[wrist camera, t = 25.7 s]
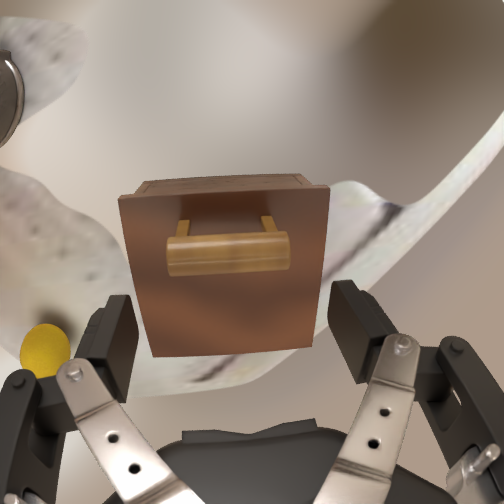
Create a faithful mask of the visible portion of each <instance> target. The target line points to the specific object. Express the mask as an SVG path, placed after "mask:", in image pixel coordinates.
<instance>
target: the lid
mask: <svg viewBox="0 0 504 504" xmlns="http://www.w3.org/2000/svg"><path fill="white" fill-rule="evenodd" d="M329 200H330V188H329V187H328V186H327V185H288V186H252V187H228V188H209V189H192V190H178V191H164V192H152V193H140V194H129V195H121V196H120V197H119V198H118V204H119V210H120V216H121V222H122V228H123V234H124V239H125V244H126V249H127V254H128V259H129V264H130V269H131V273H132V278H133V282H134V287H135V291H136V295H137V299H138V303H139V307H140V311H141V315H142V319H143V323H144V327H145V330H146V334H147V338H148V341H149V345H150V348H151V352H152V355H153V357H189V356H212V355H229V354H244V353H256V352H268V351H278V350H288V349H297V348H306V347H312V342H313V335H314V329H315V322H316V315H317V308H318V301H319V293H320V285H321V277H322V269H323V261H324V252H325V242H326V233H327V223H328V212H329Z"/></svg>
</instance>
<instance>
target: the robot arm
mask: <svg viewBox="0 0 504 504" xmlns="http://www.w3.org/2000/svg"><path fill="white" fill-rule="evenodd" d="M10 56H11V52H10V51H7V50H0V148H1V147H2V146H3V145H4V144H5V143H6V142H7V141H8V140H9V139H10V137H11V136H12V135H13V133H14V131H15V129H16V127H17V125H18V122H19V120H20V117H21V113H22V108H23V101H24V88H23V82H22V78H21V75H20V72H19V70H18V69H17V67H16V66H15V64H14V63H13V62H12V61H11V58H10ZM327 317H328V324H329V327H330V329H331V331H332V333H333V335H334V338H335V340H336V342H337V344H338V346H339V348H340V350H341V352H342V355H343V357H344V359H345V361H346V363H347V365H348V367H349V370H350V372H351V374H352V376H353V378H354V380H355V382H356V384H360V383H365V382H367V384H368V387H367V390H366V392H365V395H364V397H363V400H362V402H361V405H360V407H359V410H358V412H357V414H356V417H355V419H354V421H353V424H352V426H351V428H350V431H349V433H348V434H345V433H344V432H341V431H338V430H335V429H330V428H324V427H317V424H316V421H315V418H313V419H307V420H301V421H295V422H288V423H282V424H279V425H277V426H274V427H271V428H268V429H265V430H262V431H259V432H256V433H253V434H243V433H235V432H227V431H220V430H197V431H182V440H180V441H176V442H173V443H170V444H168V445H166V446H164V447H162V448H160V449H159V450H157V451H155V450H154V449H153V448H152V446H151V445H150V444H149V443H148V441H147V440H146V439H145V438H144V436H143V435H142V434H141V432H140V431H139V430H138V429H137V427H136V426H135V425H134V423H133V422H132V420H131V419H130V418H129V416H128V415H127V414H126V412H125V411H124V410H123V408H122V407H121V405H120V404H119V403H126V399H127V394H128V388H129V383H130V378H131V373H132V368H133V363H134V358H135V354H136V349H137V345H138V339H139V331H138V325H137V321H136V317H135V313H134V309H133V305H132V301H131V298H130V296H129V295H111V296H110V297H109V299H108V302H107V304H106V306H105V308H99V309H98V310H97V311H96V312H95V313H94V314H93V315H92V316H91V318H90V320H89V322H88V325H87V327H86V329H85V332H84V334H83V336H82V339H81V341H80V344H79V346H78V349H77V351H76V354H75V356H74V359H71V360H68V361H66V362H65V363H63V364H62V365H61V366H60V367H59V368H58V370H57V373H56V375H53V376H48V377H43V378H38V379H37V378H36V376H35V374H34V373H33V372H32V371H31V370H28V369H19V370H16V371H14V372H13V373H11V374H10V375H9V376H8V377H7V379H6V380H5V382H4V385H3V388H2V390H1V392H0V504H55V501H56V492H57V485H58V478H59V470H60V465H61V458H62V452H63V447H64V441H65V436H66V432H70V431H75V430H79V431H80V433H81V435H82V437H83V438H84V440H85V442H86V444H87V445H88V447H89V449H90V451H91V453H92V454H93V456H94V458H95V459H96V461H97V462H98V464H99V466H100V467H101V469H102V471H103V472H104V474H105V475H106V477H107V478H108V480H109V481H110V483H111V484H112V486H113V487H114V489H115V490H116V491H115V492H114V493H113V494H112V495H111V496H110V497H109V498H108V499H107V500H106V501H105V502H104V503H103V504H504V393H503V391H502V389H501V388H500V387H499V385H498V383H497V382H496V380H495V379H494V378H493V376H492V375H491V373H490V372H489V370H488V369H487V368H486V366H485V365H484V363H483V362H482V360H481V359H480V358H479V356H478V355H477V354H476V352H475V351H474V349H473V348H472V347H471V345H470V344H469V343H468V342H467V341H465V340H464V339H462V338H460V337H456V336H447V337H445V338H443V339H442V341H441V342H440V345H439V347H424V346H420V345H419V343H418V342H417V341H416V340H415V339H414V338H413V337H411V336H409V335H406V334H402V333H399V332H398V331H397V329H396V328H395V326H394V325H393V324H392V322H391V320H390V319H389V318H388V316H387V315H386V313H384V311H383V309H382V308H381V307H380V306H379V304H378V302H377V301H376V300H375V298H374V297H373V296H371V295H370V294H369V293H367V292H366V291H364V290H361V291H359V289H358V288H357V286H356V285H355V283H354V282H353V281H352V280H340V281H333V282H332V285H331V292H330V299H329V306H328V314H327ZM453 390H455V392H456V393H457V395H458V397H459V399H460V401H461V405H460V403H459V402H458V400H457V398H456V397H455V395H454V393H453ZM413 401H418V402H419V404H420V406H421V408H422V410H423V412H424V414H425V416H426V418H427V420H428V422H429V424H430V427H431V429H432V431H433V433H434V435H435V437H436V440H437V442H438V444H439V446H440V448H441V451H442V453H443V455H444V457H445V460H446V462H447V464H448V467H449V469H450V470H449V471H448V473H447V476H446V484H447V487H446V491H445V490H444V489H442V488H440V487H438V486H436V485H434V484H432V483H430V482H428V481H427V480H424V479H423V478H421V477H419V476H417V475H416V474H414V473H412V472H410V471H408V470H407V469H405V468H403V467H401V466H400V465H398V464H396V461H397V459H398V456H399V452H400V449H401V446H402V443H403V439H404V436H405V432H406V429H407V425H408V421H409V417H410V413H411V409H412V405H413Z"/></svg>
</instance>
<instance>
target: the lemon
mask: <svg viewBox="0 0 504 504" xmlns="http://www.w3.org/2000/svg"><path fill="white" fill-rule="evenodd" d="M70 353H71V351H70V343H69V340H68V338H67V336H66V335H65V333H64V332H63V331H62V330H61V329H60V328H58V327H57V326H55V325H52V324H40V325H37V326H35V327H34V328H32V329H31V330H30V331H29V332H28V334H27V335H26V336H25V338H24V340H23V343H22V346H21V350H20V363H21V365H22V368H23V369H28V370H31V371H32V372H33V373H34V374H35V376H36V378H37V379H38V378H43V377H48V376H53V375H56V373H57V370H58V368H59V367H60V366H61V365H62V364H63V363H65V362H66V361H68V360H69V359H70Z"/></svg>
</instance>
